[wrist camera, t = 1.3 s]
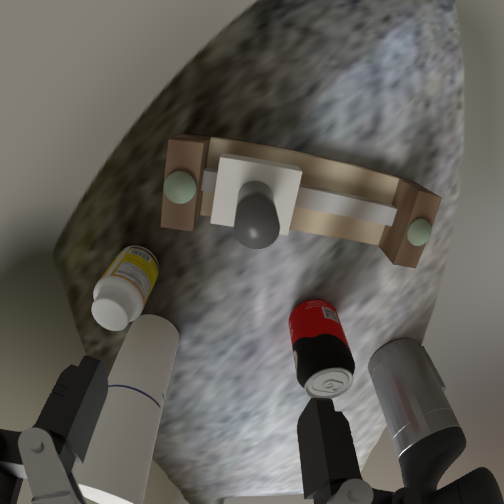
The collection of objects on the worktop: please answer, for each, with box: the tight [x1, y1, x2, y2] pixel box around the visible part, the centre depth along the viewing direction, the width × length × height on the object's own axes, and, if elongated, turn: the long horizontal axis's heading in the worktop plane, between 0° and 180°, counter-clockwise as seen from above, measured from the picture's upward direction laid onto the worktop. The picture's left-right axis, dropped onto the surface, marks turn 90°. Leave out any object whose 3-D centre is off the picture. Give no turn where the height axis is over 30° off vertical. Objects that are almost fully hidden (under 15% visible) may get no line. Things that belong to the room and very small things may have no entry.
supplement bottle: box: [92, 246, 159, 331], centre depth 31 cm, size 6×6×10 cm
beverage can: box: [289, 299, 355, 399], centre depth 34 cm, size 6×6×12 cm
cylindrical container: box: [73, 314, 179, 504], centre depth 30 cm, size 7×7×25 cm
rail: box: [161, 133, 442, 268], centre depth 29 cm, size 26×8×6 cm, turn 80°
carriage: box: [211, 153, 302, 249], centre depth 24 cm, size 7×6×10 cm
